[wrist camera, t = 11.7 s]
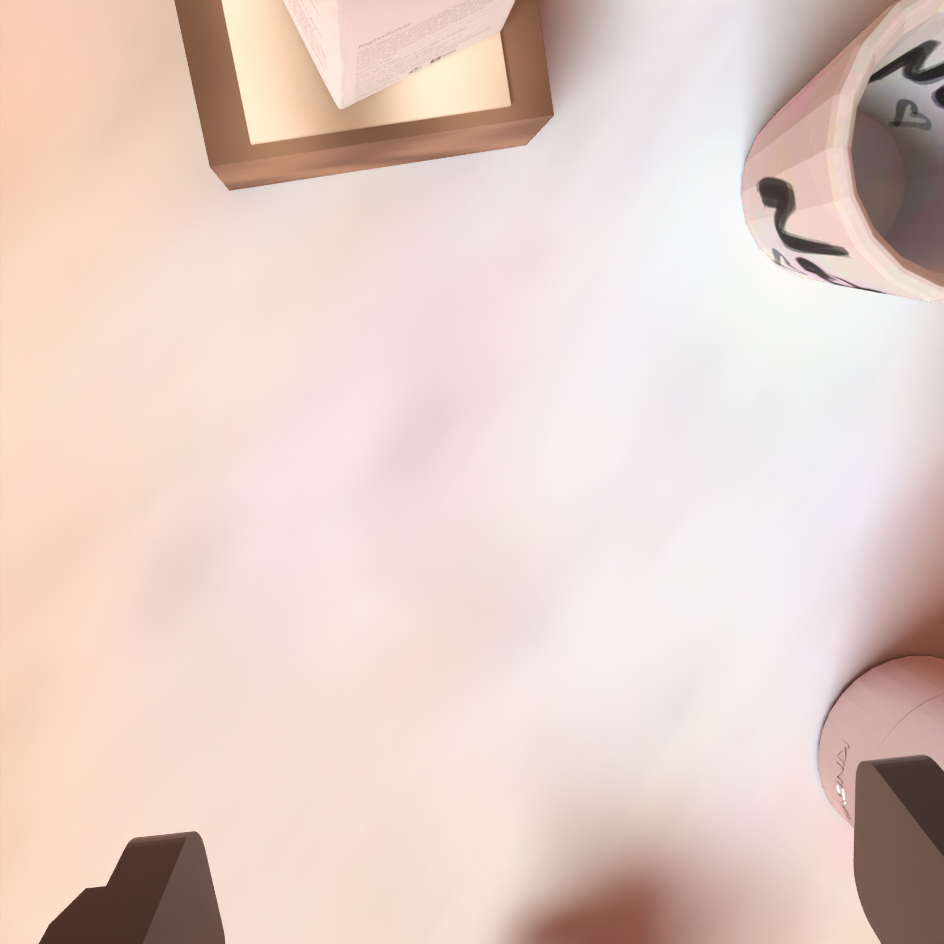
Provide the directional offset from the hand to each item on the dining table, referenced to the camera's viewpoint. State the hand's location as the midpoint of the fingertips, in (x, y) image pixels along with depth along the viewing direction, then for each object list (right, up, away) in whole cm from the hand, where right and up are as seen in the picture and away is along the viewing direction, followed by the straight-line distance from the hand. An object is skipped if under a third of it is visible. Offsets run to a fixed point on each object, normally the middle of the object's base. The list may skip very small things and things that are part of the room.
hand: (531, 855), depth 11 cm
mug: (+15, +19, +27) cm, 36 cm away
